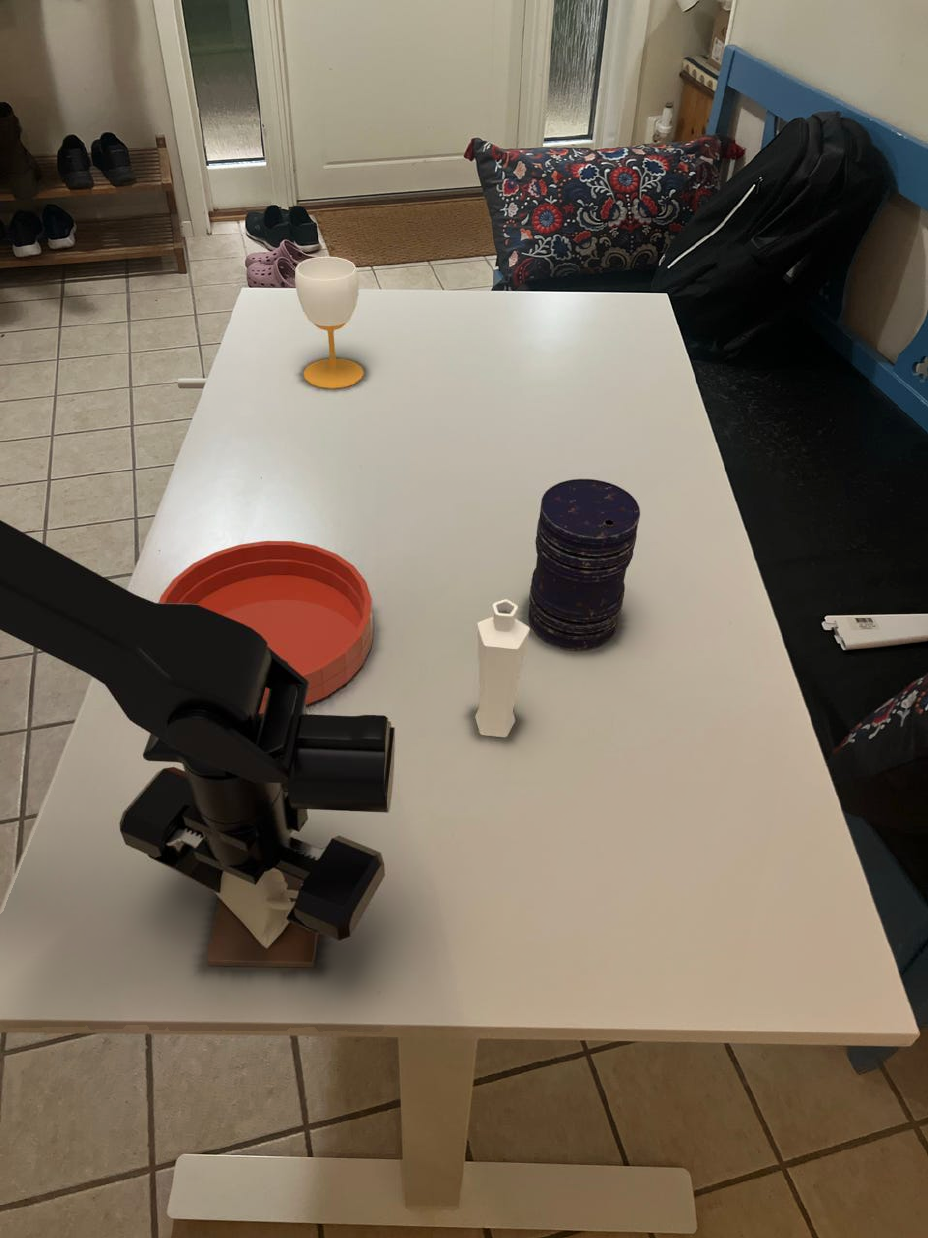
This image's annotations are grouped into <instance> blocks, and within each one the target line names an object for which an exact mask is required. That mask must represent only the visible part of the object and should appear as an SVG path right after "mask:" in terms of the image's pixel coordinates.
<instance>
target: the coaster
mask: <svg viewBox="0 0 928 1238" xmlns="http://www.w3.org/2000/svg"><path fill="white" fill-rule="evenodd" d="M280 872H281V873H282V874H283V876H284V879H285V880H284V882H286V883H287V885H288V887H287V890H294V891H299V890H300V888H301V886H302V885H301V884H302V883H303V881H302V880H300V879H298V878H295V877H293V876H291V875H289V874H286V873H284V872H282V871H280ZM289 899H290V900H291V901H290V902H295V901H296V899H295V898H289ZM318 937H319V934H317V933H315V932H312V931H310V932H309V934H307V933H305V932H303V931H302V930H300V929H299V928H297V927H296V926H295V925H293V924H292V923H291V922H289V924H288V925H287V926H286V927H285V929H284V930H283V932H282V933H281V934H280V935H279V936H278V937H277V939H276V940H275V941H274V942H273V943H272V944H271V945H270V946H269V947H268V948H265V947H264V946H263V945H262V944H261V943H260V942H259V941H258V940H257V939H256V937H255V936H254V935H253V934H252V933H251V931H250V930H249V929H248V928H247V927H246V926H245V924H244V923H243V922H242V921H241V920H240V919H239V918H238V917H237V916H236V915H235V914H234V913H233V912H232V911H231V910H230V909H229V908H228V906H227V905H226V904H225V903H224V902H223V901H222V900H221V899H220V898H219V900H218V905H217V910H216V914H215V918H214V923H213V928H212V933H211V936H210V941H209V946H208V950H207V955H206V960H205V962H206V965H207V966H208V967H251V968H253V967H255V968H256V967H258V968H260V967H261V968H263V967H265V968H314V967H315V960H316V954H317V953H316V952H317V945H318Z"/></svg>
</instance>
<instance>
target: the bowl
mask: <svg viewBox="0 0 928 1238" xmlns="http://www.w3.org/2000/svg"><path fill="white" fill-rule="evenodd" d="M158 603H185V604H196V605H199V606H202V607H204V608H206V609H209V610H211V611H214V612H216V613H218V614H221V615H223V616H225V617H228V618H230V619H233V620H235V621H237V622H240V623H242V624H244V625H246V626H248V627H250V628H252V629H253V630H255V631H256V632H257V633H259V634H260V635H261V636H262V637H263V638H264V639H265V640H266V642H267V643H268V647H269V648H270V649H271V650H272V651H274V652H275V653H276V654H277V655H278V656H279V657H281V658H282V659H283V660H285V661H287V662H288V664H289V665H290V666H291V667H292V668H293V669H295V670H296V671H297V672H298V673H299V674H301V675H302V676H303V677H304V678H305V679H306V680H308V682H309V686H308V691H307V695H306V700H305V702H306V706H308V705H311V704H313V703H315V702H317V701H319V700H322V699H324V698H326V697H329V695H331V694H333V692H335V691H337V690H338V689H340V688H342V687H343V686H345V684H347V683H348V682H349V681H350V680H351V679H352V678H353V677H354V675H355V674H356V673H357V672H358V671H359V670H360V669H361V668H362V666H363V665H364V663H365V661H366V659H367V657H368V654H369V653H370V650H371V648H372V645H373V633H374V619H373V601H372V595H371V593H370V589H369V586H368V583H367V581H366V579H365V578H364V577H363V575H362V574H361V573H360V572H359V570H358V569H357V568H356V566H355V565H353V564H352V563H351V562H349V560H346V559H345V558H344V557H342V556H341V555H339V554H337V553H335V552H332V551H330V550H327V549H325V548H323V547H320V546H317V545H315V544H310V543H309V544H308V543H303V542H298V541H294V540H292V541H291V540H261V541H255V542H248V543H247V542H246V543H242V544H237V545H234V546H231V547H228V548H224V549H221V550H218V551H215V552H212V553H210V554H208V555H207V556H205V557H203V558H201V559H199V560H197V561H195V562H194V563H192V564H191V565H189V566H188V567H187V568H185V569H184V570H183V571H181V572H180V573H179V574H178V575H176V576H175V577H174V578H173V579H172V581H171V582H170V583H169V584H168V586H167V587H166V589H165V590H164V591H163V592H162V594H161V595H160V597H159V599H158ZM268 693H269V689H268V688H265V692H264V696H263V700H262V704H261V708H260V712H259V715H263V713H264V709H265V705H266V701H267V697H268Z"/></svg>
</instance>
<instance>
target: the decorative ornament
mask: <svg viewBox="0 0 928 1238" xmlns="http://www.w3.org/2000/svg"><path fill="white" fill-rule="evenodd" d="M284 880H285V879H284V876H283V874H282V873H281V872H280V871H279V870H277V869H275V868H272V869H271V870H269V871H267V872H264V874H263V875H262V877H261V878H260V880H259V881H258V883H257V884H256V885H254V884H252V883H250V882H247V881H245V880H243V879H241V878H238V877H236V876H234V875H232V874H229V873H227V872H225V871H223V874H222V877H221V886H220V893H217V892H215V891H214V893H215V895H216V896H217V897H218V898H219V900H220V899H221V900H222V901H223V902H224V903H225V904H226V905H227V906H228V908H229V909H230V910H231V911H232V912H233V913H234V914H235V915H236V916H237V917H238V918H239V919H240V920H241V921H242V922H243V923H244V924H245V926H246V927H247V928H248V929H249V930H250V931H251V933H252V934H253V935H254V936H255V937H256V939H257V940H258V941H259V942H260V943H261V944H262V945H263V946H264V947H265V948H268V947H269V946H270V945H271V944H272V943H273V942H274V941H275V940H276V939H277V937H278V936H279V935H280V934H281V933H282V932H283V930H284V929H285V927H286V926H287V925H288V924H289V921H288V920H287V919H286V918H287V916H288V914H289V913H290V911H291V910H292V908H293V906H294V905H295V902H296V901H295V902H290V901H291V900H290V899H289V898H295V899H297V896H298V892H299V891H294V890H287V887H288V885H287V883H286V882H284Z"/></svg>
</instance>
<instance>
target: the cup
mask: <svg viewBox="0 0 928 1238" xmlns="http://www.w3.org/2000/svg"><path fill="white" fill-rule="evenodd" d="M294 271H295V272H294V285H295V288H296V295H297V298H298V301H299V304H300V307H301V309H302V312H303V313H304V315H305V316H306V318H307V320H308V321H309V322H310V323H312V324H313V325H314V326H316V327H317V329H318V328H319V329H320V330H324V331H327V339H328V352H329V358H326V359H321V360H317V361H313V362H312V363H310V364H309V365H308V366H306V367H305V369H304V371H303V378H304V380H305V381H306V382H308V383H309V384H310V385H312V386H314V387H318V388H321V389H330V390H331V389H332V390H335V389H342V388H343V389H344V388H347V387H350V386H353V385H356V384H357V383H358V382H360V381H361V380H362V379H363V377H364V374H365V372H364V369H363V367H362V366H361V365H360V364H358V363H357V362H355V361H352V360H348V359H346V358H345V359H344V358H336V349H335V347H336V345H335V330H339V329H341V328H343V327H344V326H345V325H346V324H347V323H348V322H349V321H350V320H351V318H352V317H353V314H354V312H355V310H356V307H357V303H358V299H359V298H358V297H359V291H360V288H359V286H360V280H359V275H358V270H357V267H356V265H355V263H353V262H351V261H350V260H349V259H346V258H342V257H337V256H317V257H316V256H315V257H312V258H307V259H305V260H303V261H301V262H299V263H298V264H297V265H296V267H295V270H294Z"/></svg>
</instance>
